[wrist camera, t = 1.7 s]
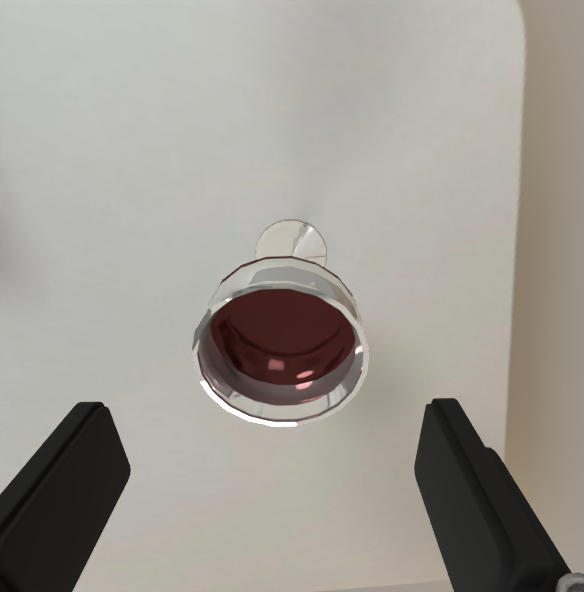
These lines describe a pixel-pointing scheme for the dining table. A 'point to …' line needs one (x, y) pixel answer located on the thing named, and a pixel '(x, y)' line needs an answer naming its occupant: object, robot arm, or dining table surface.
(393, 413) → the dining table surface
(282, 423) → the wineglass
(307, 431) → the dining table surface
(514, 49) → the dining table surface
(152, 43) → the dining table surface
